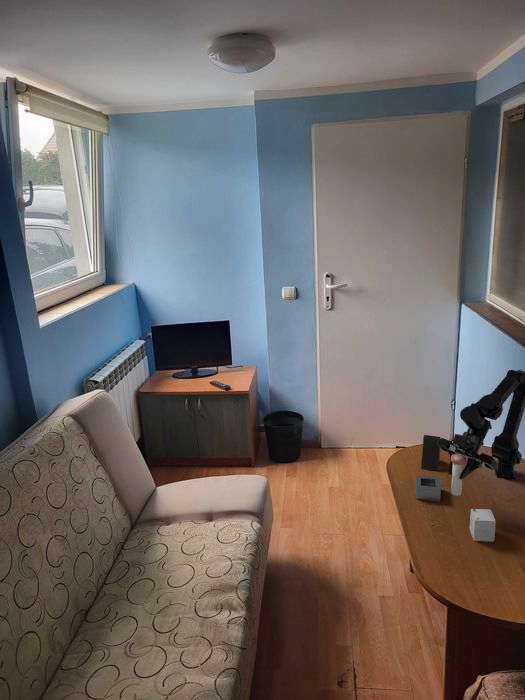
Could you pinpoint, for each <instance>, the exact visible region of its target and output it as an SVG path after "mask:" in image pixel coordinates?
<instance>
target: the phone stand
mask: <svg viewBox="0 0 525 700" xmlns="http://www.w3.org/2000/svg"><path fill="white" fill-rule="evenodd" d="M422 438H423V440H422V453H421V454H422V455H421V463H420V465H421V466H420V469H423V470H429V471H435V472H438V470H439V467H440V466H439V465H440V460H441V448H440V447H439V446H438V445H437V442H438V440H439V439H441V436H436V435H428V434H424V435H423V437H422Z"/></svg>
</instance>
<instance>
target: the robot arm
mask: <svg viewBox="0 0 525 700" xmlns="http://www.w3.org/2000/svg"><path fill="white" fill-rule="evenodd" d="M511 395H512V397H511V401H510V404H509V408H508V412H507V414H506V418H505V421H504V425H503V428H502V432H501V433H500V434H498V435H495V437H494V439H493V442H492V444H491V447H490V450H491V455H489V454H487V453H484V452H482V453H480V454H479V451H480V449H481V447H484V444H485V443H484V440H485V439H486V436H487V435H488V432H489V430H492V428H493V427H492V422H491V421H490V420H493V421H496V420H498V419H499V418H500V417H501V415H502V414H503V412H504V407H503V406H504V404H505V402H506V401H507V400H508V399H509V397H510V396H511ZM524 412H525V371H524V370H521V369H517V370H515V369H508V371H507V372H506V376H505V377H504V378H503V379H502V380H501V381H500V383H499V384H498V385H497V386H496V387H495V388H494V389H493V391H492V392H491V393H488V394H486V395H483V396H482V397H481V398H480V399H478V400H477V401H476V402H472V403H470V405H468V406H465V407H463V408H462V409H461V410H460V412H459V417H460V420H462V421H463V423H464V424H465V426H466V427H467V428H468V429H467V430H466V431H464V432H463V433H462V434H459V433H455V434H454V437H453V440H452V441H451V440H449V439H446V438H443V437H440V439H439V440H438V442H437V445H438V446H439V447H440V450H442V451H444V452H445V453H448V454H449V467H448V468H449V469H448V474H449V476H452V469H453V463H452V462H451V456H452V455H454V454H460V455H463V456H465V457H466V458H467V459H466V463H465V466H464V467H463V471H462V473H461V475H460V478H459V479H460V480H462V481H463V480H464V478H466V477H467V476H468V475H470V474H471V473H472V472H474V471H475V470H477V469H482V468H483V464H484V466H485V468H486V469H489V470H491V471H494V473H495V476H496V478H503V479H511V480H515V479H517V477H516V474H515V466H516V465H519V464H521V461H522V457H523V454H522V453H521V452H520V451H519V447H520V444H519V440H518V437H517V435H518V433H519V429H520V425H521V423H522V422H521V421H522V418H523V416H524ZM489 419H490V420H489ZM496 459H497V460H496Z"/></svg>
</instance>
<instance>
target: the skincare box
mask: <svg viewBox="0 0 525 700" xmlns="http://www.w3.org/2000/svg"><path fill="white" fill-rule="evenodd" d="M496 523H497V522H496V519H495V516H494V513H493V511H492V510H491V509H487V508H486V509H485V508H484V509H483V508H479V509H478V508H471V509H470V519H469V530H470V531H469V532H470V535H471V537H472V541H475V542H495V533H496V526H497V525H496Z"/></svg>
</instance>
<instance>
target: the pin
mask: <svg viewBox="0 0 525 700" xmlns="http://www.w3.org/2000/svg"><path fill="white" fill-rule="evenodd" d="M451 462H452V463H453V469H452V475H451V486H450V487H451V488H450V493H451V495H453V496H456V497H459V496H461V495H462V491H463V490H462V489H463V479H462V480H460V479H459V478H460V475H461V473H462V471H463V469H464V465H466V464H467V456H464V455H462V454H454V455H452V456H451Z"/></svg>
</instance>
